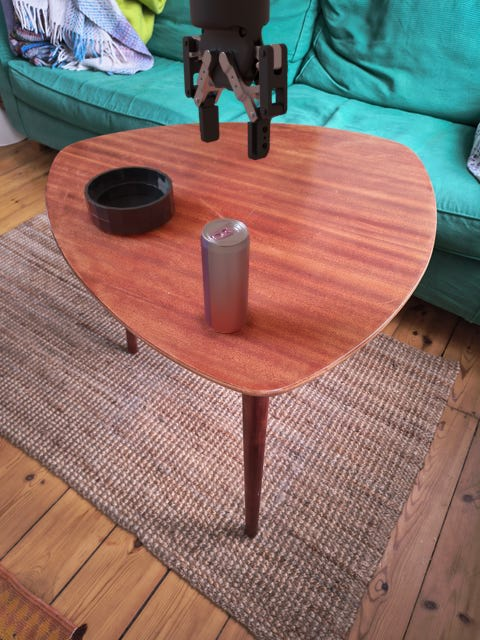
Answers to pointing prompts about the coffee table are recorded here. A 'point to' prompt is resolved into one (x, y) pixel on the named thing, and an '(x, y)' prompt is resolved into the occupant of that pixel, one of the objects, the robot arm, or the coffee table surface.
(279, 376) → the coffee table surface
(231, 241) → the beverage can
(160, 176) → the dark round dish
